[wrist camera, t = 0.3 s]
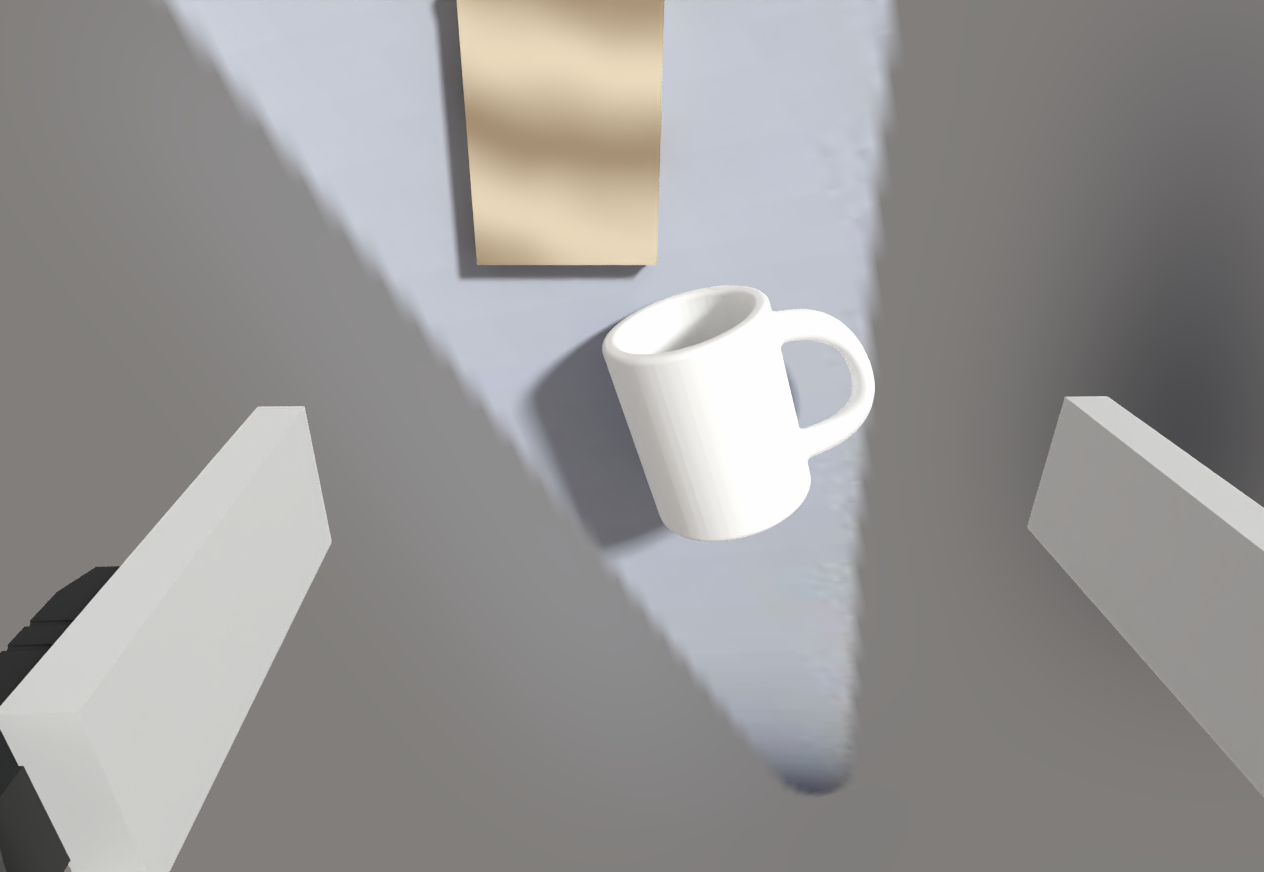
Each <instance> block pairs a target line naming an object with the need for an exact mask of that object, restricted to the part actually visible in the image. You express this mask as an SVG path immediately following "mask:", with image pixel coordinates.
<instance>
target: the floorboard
mask: <svg viewBox="0 0 1264 872" xmlns="http://www.w3.org/2000/svg"><path fill="white" fill-rule="evenodd" d="M457 13H458V26H459V39H460V52H461V65H462V78H463V91H464V103H465V116H466V129H467V142H468V155H469V168H470V181H471V194H472V207H473V220H474V233H475V245H476V258H477V265H657V244H658V208H659V172H660V136H661V100H662V64H663V28H664V0H457Z"/></svg>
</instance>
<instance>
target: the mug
mask: <svg viewBox="0 0 1264 872" xmlns="http://www.w3.org/2000/svg"><path fill="white" fill-rule="evenodd" d="M804 340H805V341H818V342H823V343H826V344H829V345H831V346H833V347H835V348H836V349H838V350H839V351H840V352H841V354H842V355H843V356H844V358H845V360H846V362H847V365H848V367H849V371H850V374H851V380H852V391H851V396H850V398H849V400H848V402H847V403H846V405H845V406H844V407H843V408H842V409H841V410H840V411H838V412H837V413H836V414H834V415H832V416H831V417H829V418H827V419H825V420H823V421H821V422H819V423H816V424H814V425H811V426H809V427H806V428H803V429H801V428H799V425H798V420H797V416H796V412H795V408H794V403H793V399H792V395H791V391H790V387H789V382H788V378H787V374H786V370H785V365H784V361H783V357H782V353H781V346H782V344H784V343H786V342H792V341H804ZM602 352H603V356H604V358H605V361H606V364H607V367H608V370H609V373H610V375H611V378H612V381H613V384H614V387H615V390H616V393H617V395H618V398H619V401H620V404H621V407H622V410H623V413H624V415H625V418H626V421H627V424H628V427H629V430H630V433H631V435H632V438H633V441H634V444H635V447H636V450H637V452H638V455H639V458H640V461H641V464H642V467H643V470H644V472H645V475H646V478H647V481H648V484H649V487H650V490H651V492H652V495H653V498H654V501H655V504H656V507H657V510H658V512H659V515H660V518H661V520H662V521H663V523H664V524H665V525H666V526H667V528H669V529H670V530H671V531H673V532H674V533H676V534H678V535H680V536H682V537H685V538H688V539H692V540H698V541H710V542H714V541H728V540H734V539H739V538H743V537H747V536H751V535H754V534H757V533H759V532H762V531H764V530H766V529H769V528H771V527H773V526H775V525H776V524H778V523H780V522H781V521H783V520H784V519H786V518H787V517H788V516H790V515H791V514H792V513H793V512H794V511H795V510H796V509H797V508H798V507H799V506H800V505H801V504H802V502H803V501H804V499H805V498H806V496H807V494H808V491H809V488H810V483H811V477H810V471H809V467H808V460H809V458H811V457H813V456H816V455H818V454H821V453H823V452H825V451H827V450H829V449H831V448H833V447H835V446H837V445H838V444H840V443H842V442H843V441H845V440H846V439H847V438H849V437H850V436H851V435H852V434H853V433H854V432H855V431H856V430H857V429H858V428H859V427H860V426H861V425H862V423H863V422H864V421H865V419H866V417H867V416H868V414H869V411H870V409H871V406H872V403H873V399H874V392H875V383H874V376H873V371H872V367H871V364H870V361H869V359H868V356H867V354H866V352H865V350H864V348H863V347H862V345H861V343H860V342H859V340H858V339H857V338H856V336H855V335H854V334H853V333H852V332H851V330H850V329H849V328H848V327H846V326H845V325H844V324H843V323H842V322H840V321H839V320H837V319H836V318H834V317H832V316H830V315H828V314H826V313H823V312H819V311H815V310H809V309H790V310H782V311H776V312H774V311H772V310H771V306H770V302H769V300H768V298H767V296H766V295H765V294H764V293H762V292H761V291H759V290H757V289H754V288H751V287H746V286H734V285H729V286H715V287H708V288H702V289H697V290H692V291H688V292H684V293H681V294H677V295H674V296H671V297H668V298H665V299H662V300H660V301H657V302H655V303H652V304H650V305H648V306H646V307H644V308H642V309H640V310H638V311H636V312H634V313H633V314H631V315H629V316H628V317H626V318H625V319H623V320H622V321H620V322H619V323H618V324H617V325H616V326H614V327H613V328H612V329H611V330H610V332H609V333H608V334H607V335H606V337H605V339H604V341H603V345H602Z"/></svg>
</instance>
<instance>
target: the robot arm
mask: <svg viewBox="0 0 1264 872" xmlns="http://www.w3.org/2000/svg"><path fill="white" fill-rule="evenodd" d="M1027 528H1028V529H1029V530H1030V531H1031V532H1032V534H1033V535H1034V536H1035V537H1036V538H1037V539H1038V540H1039V542H1040V543H1041V544H1042V545H1043V546H1044V547H1045V548H1046V550H1047V551H1048V552H1049V553H1050V554H1051V555H1052V556H1053V557H1054V559H1055V560H1056V561H1057V562H1058V563H1059V564H1060V566H1061V567H1062V568H1063V569H1064V570H1065V571H1066V572H1067V573H1068V575H1069V576H1070V577H1071V578H1072V579H1073V580H1074V582H1075V583H1076V584H1077V585H1078V586H1079V587H1080V588H1081V589H1082V591H1083V592H1084V593H1085V594H1086V595H1087V596H1088V597H1089V599H1090V600H1091V601H1092V602H1093V603H1094V604H1095V605H1096V607H1097V608H1098V609H1099V610H1100V611H1101V612H1102V613H1103V614H1104V616H1105V617H1106V618H1107V619H1108V620H1109V621H1110V622H1111V624H1112V625H1113V626H1114V627H1115V628H1116V629H1117V630H1118V632H1119V633H1120V634H1121V635H1122V636H1123V637H1124V639H1125V640H1126V641H1127V642H1128V643H1129V644H1130V645H1131V646H1132V648H1133V649H1134V650H1135V651H1136V652H1137V653H1138V654H1139V656H1140V657H1141V658H1142V659H1143V660H1144V661H1145V662H1146V664H1148V666H1149V667H1150V668H1151V669H1152V670H1153V671H1154V672H1155V674H1156V675H1157V676H1158V677H1159V678H1160V680H1161V681H1162V682H1163V683H1164V684H1165V685H1166V686H1167V688H1168V689H1169V690H1170V691H1171V692H1172V693H1173V694H1174V696H1175V697H1176V698H1177V699H1178V700H1179V701H1180V702H1181V703H1182V705H1183V706H1184V707H1185V708H1186V709H1187V710H1188V711H1189V713H1190V714H1191V715H1192V716H1193V717H1194V718H1195V719H1196V721H1197V722H1198V723H1199V724H1200V725H1201V726H1202V727H1203V729H1204V730H1205V731H1206V732H1207V733H1208V734H1209V735H1210V737H1211V738H1212V739H1213V740H1214V741H1215V742H1216V743H1217V744H1218V746H1219V747H1220V748H1221V749H1222V750H1223V751H1224V752H1225V754H1226V755H1227V756H1228V757H1229V758H1230V759H1231V760H1232V761H1233V763H1234V764H1235V765H1236V766H1237V767H1238V768H1239V770H1240V771H1241V772H1242V773H1243V774H1244V775H1245V776H1246V778H1247V779H1248V780H1249V781H1250V782H1251V783H1252V784H1253V786H1254V787H1255V788H1256V789H1257V790H1258V791H1259V792H1260V794H1261V795H1262V796H1263V797H1264V508H1263V507H1262V506H1260V505H1259V504H1257V503H1256V502H1255V501H1253V500H1252V499H1250V498H1249V497H1248V496H1246V495H1245V494H1243V493H1242V492H1240V491H1239V490H1238V489H1236V488H1235V487H1234V486H1232V485H1231V484H1229V483H1228V482H1227V481H1225V480H1223V479H1222V478H1221V477H1220V476H1218V475H1217V474H1215V473H1214V472H1212V471H1211V470H1209V469H1208V468H1207V467H1205V466H1204V465H1203V464H1201V463H1200V462H1198V461H1197V460H1196V459H1194V458H1193V457H1191V456H1190V455H1189V454H1187V453H1186V452H1184V451H1183V450H1182V449H1180V448H1179V447H1177V446H1176V445H1175V444H1173V443H1172V442H1170V441H1169V440H1168V439H1166V438H1165V437H1163V436H1162V435H1160V434H1159V433H1158V432H1156V431H1155V430H1154V429H1152V428H1151V427H1149V426H1148V425H1147V424H1145V423H1144V422H1142V421H1141V420H1140V419H1138V418H1137V417H1135V416H1134V415H1132V414H1131V413H1130V412H1128V411H1127V410H1126V409H1124V408H1123V407H1121V406H1120V405H1119V404H1117V403H1116V402H1114V401H1113V400H1112V399H1110V398H1109V397H1107V396H1095V397H1065V399H1064V402H1063V406H1062V409H1061V412H1060V416H1059V419H1058V423H1057V426H1056V430H1055V433H1054V436H1053V440H1052V443H1051V447H1050V450H1049V454H1048V457H1047V461H1046V464H1045V467H1044V471H1043V474H1042V478H1041V481H1040V485H1039V488H1038V492H1037V495H1036V498H1035V502H1034V506H1033V509H1032V512H1031V516H1030V519H1029V523H1028V526H1027ZM331 542H332V541H331V536H330V531H329V527H328V522H327V516H326V512H325V506H324V501H323V497H322V491H321V487H320V482H319V476H318V471H317V467H316V462H315V457H314V452H313V447H312V442H311V437H310V432H309V427H308V422H307V417H306V412H305V407H304V406H292V407H291V406H288V407H285V406H284V407H257V408H256V409H255V410H254V412H253V413H252V414H251V415H250V416H249V417H248V419H247V420H246V421H245V422H244V423H243V424H242V426H241V427H240V428H239V429H238V430H237V432H236V433H235V434H234V435H233V436H232V437H231V438H230V440H229V441H228V442H227V443H226V444H225V445H224V447H223V448H222V449H221V450H220V451H219V452H218V454H217V455H216V456H215V457H214V458H213V459H212V461H211V462H210V463H209V464H208V465H207V466H206V467H205V469H204V470H203V471H202V472H201V473H200V474H199V476H198V477H197V478H196V479H195V480H194V482H193V483H192V484H191V485H190V486H189V487H188V488H187V490H186V491H185V492H184V493H183V494H182V495H181V497H180V498H179V499H178V500H177V501H176V503H175V504H174V505H173V506H172V507H171V508H170V509H169V511H168V512H167V513H166V514H165V515H164V516H163V518H162V519H161V520H160V521H159V522H158V523H157V524H156V526H155V527H154V528H153V529H152V530H151V531H150V533H149V534H148V535H147V536H146V537H145V538H144V540H143V541H142V542H141V543H140V544H139V546H138V547H137V548H136V549H135V550H134V552H132V554H131V555H130V556H129V557H128V558H127V559H126V561H125V562H124V563H123V564H122V565H121V566H120V567H119V566H117V567H95V568H94V569H92V570H91V571H89V572H88V573H86V574H84V575H83V576H81V577H80V578H78V579H77V580H75V581H74V582H72V583H70V584H69V585H67V586H66V587H64V588H63V589H61V590H60V591H58V592H57V593H56V594H55V595H54V596H53V597H52V598H51V599H50V600H49V601H48V602H47V603H46V604H45V606H44V607H43V608H42V609H41V610H40V611H39V612H38V613H37V614H36V615H35V616H34V617H33V618H32V619H31V621H30V626H29V627H24V628H23V629H22V631H20V632H19V633H18V634H17V636H16V637H15V638H14V639H13V640H12V641H11V642H10V643H9V644H8V650H7V651H2V652H1V653H0V872H64V870H65V869H66V867H67V865H69V867H70V869H71V871H72V872H169V871H170V869H171V867H172V865H173V863H174V861H175V859H176V857H177V855H178V853H179V851H180V849H181V847H182V845H183V843H184V841H185V839H186V837H187V834H188V833H189V831H190V829H191V827H192V825H193V822H194V821H195V819H196V817H197V815H198V812H199V810H200V808H201V806H202V804H203V802H204V800H205V798H206V796H207V794H208V792H209V790H210V788H211V786H212V784H213V782H214V780H215V778H216V776H217V774H218V772H219V770H220V768H221V766H222V764H223V761H224V760H225V757H226V756H227V754H228V751H229V750H230V748H231V745H232V743H233V741H234V739H235V737H236V735H237V733H238V731H239V729H240V727H241V725H242V723H243V721H244V719H245V717H246V715H247V713H248V711H249V709H250V707H251V705H252V703H253V701H254V699H255V697H256V695H257V693H258V690H259V689H260V686H261V684H262V682H263V680H264V678H265V676H266V674H267V672H268V670H269V668H270V666H271V664H272V662H273V660H274V658H275V656H276V654H277V652H278V650H279V648H280V646H281V644H282V642H283V640H284V638H285V636H286V634H287V632H288V629H289V627H290V625H291V623H292V621H293V619H294V617H295V615H296V613H297V611H298V609H299V607H300V605H301V603H302V601H303V599H304V597H305V595H306V593H307V591H308V589H309V587H310V584H311V583H312V581H313V579H314V577H315V575H316V572H317V571H318V569H319V567H320V565H321V563H322V561H323V559H324V556H325V554H326V552H327V550H328V548H329V546H330V544H331Z"/></svg>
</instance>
